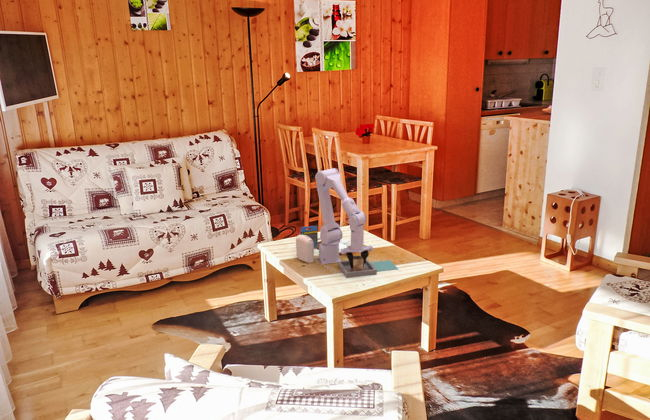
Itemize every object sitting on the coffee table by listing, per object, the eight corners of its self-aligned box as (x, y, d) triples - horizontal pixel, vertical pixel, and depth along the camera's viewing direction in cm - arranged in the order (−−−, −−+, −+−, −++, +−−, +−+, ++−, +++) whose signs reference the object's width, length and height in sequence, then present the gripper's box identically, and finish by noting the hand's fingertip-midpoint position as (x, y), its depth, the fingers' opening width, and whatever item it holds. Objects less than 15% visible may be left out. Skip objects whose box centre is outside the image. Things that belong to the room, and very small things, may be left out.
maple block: (353, 272, 231) (353, 259, 229) (350, 268, 235) (350, 256, 233) (363, 271, 232) (363, 258, 230) (360, 267, 236) (360, 255, 234)
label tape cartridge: (316, 245, 265) (315, 223, 261) (318, 248, 261) (317, 225, 258) (299, 247, 262) (298, 224, 259) (301, 250, 259) (300, 227, 255)
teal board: (375, 272, 231) (375, 271, 231) (367, 263, 241) (367, 262, 241) (398, 270, 234) (398, 269, 234) (389, 261, 244) (389, 260, 244)
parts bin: (346, 278, 225) (346, 273, 225) (338, 266, 238) (337, 261, 238) (376, 275, 229) (376, 269, 228) (366, 263, 242) (366, 258, 241)
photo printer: (295, 257, 249) (294, 233, 246) (302, 255, 252) (301, 232, 248) (308, 264, 241) (307, 239, 238) (315, 261, 244) (314, 237, 240)
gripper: (344, 243, 224) (344, 272, 228) (375, 240, 227) (375, 268, 231) (339, 238, 230) (339, 266, 234) (370, 235, 234) (369, 262, 238)
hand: (356, 267), depth 233 cm, fingers closed on maple block, 4 cm apart
